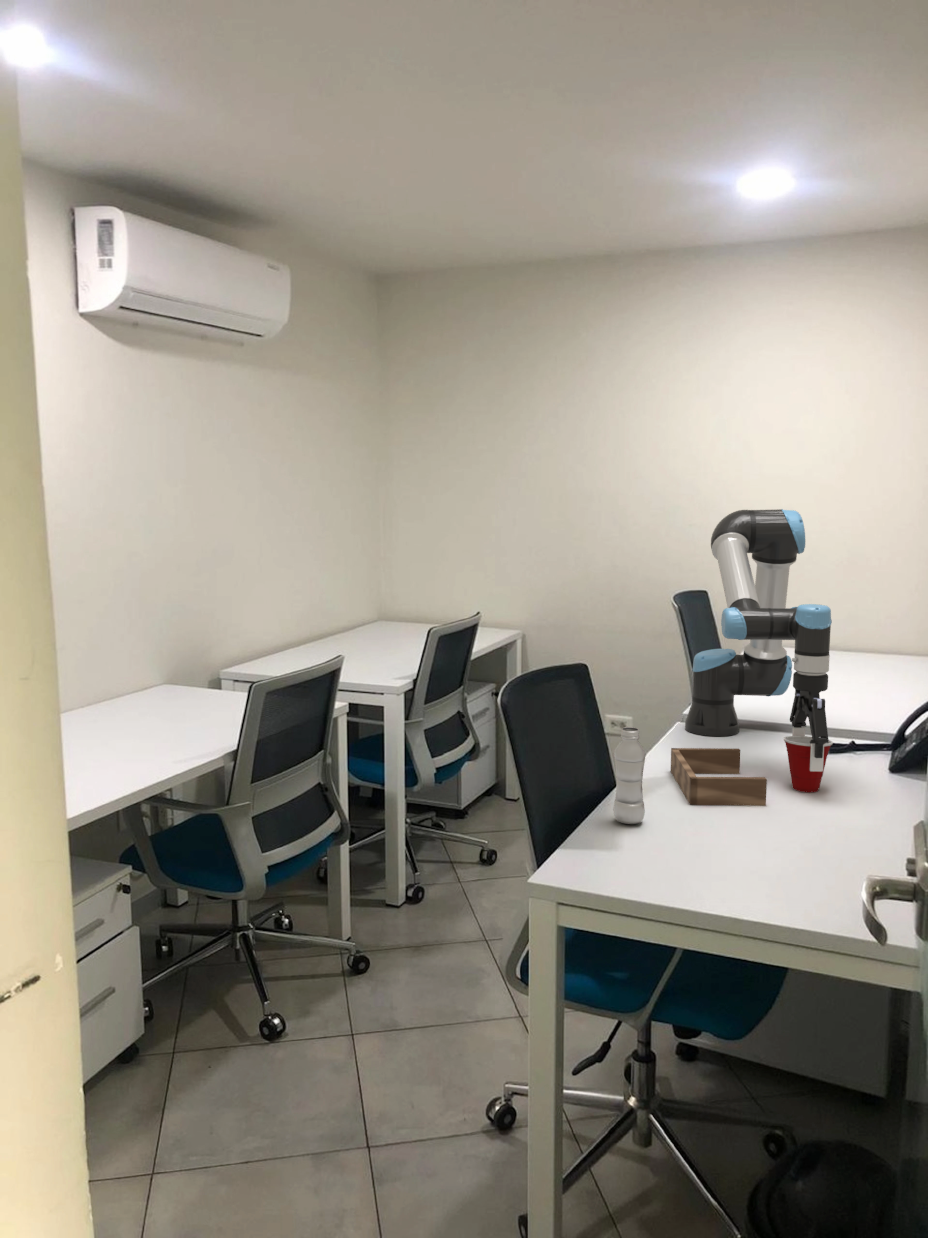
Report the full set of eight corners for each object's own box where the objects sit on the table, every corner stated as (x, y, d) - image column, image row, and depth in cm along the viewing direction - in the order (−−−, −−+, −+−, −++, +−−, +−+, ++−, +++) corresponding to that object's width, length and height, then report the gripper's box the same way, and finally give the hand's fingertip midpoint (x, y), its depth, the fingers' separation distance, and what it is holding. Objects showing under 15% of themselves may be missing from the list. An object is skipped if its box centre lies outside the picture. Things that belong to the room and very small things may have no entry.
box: (670, 771, 235) (671, 748, 234) (738, 772, 234) (738, 748, 233) (690, 805, 210) (690, 778, 209) (765, 805, 209) (766, 779, 208)
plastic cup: (832, 785, 224) (834, 735, 222) (828, 798, 214) (831, 746, 212) (783, 779, 228) (785, 730, 226) (778, 792, 218) (780, 741, 217)
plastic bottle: (626, 830, 195) (627, 734, 192) (606, 820, 201) (608, 727, 198) (651, 824, 198) (653, 731, 195) (631, 815, 204) (632, 724, 201)
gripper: (778, 662, 230) (775, 747, 233) (811, 683, 205) (807, 778, 208) (810, 662, 229) (806, 748, 232) (847, 683, 205) (842, 778, 208)
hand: (806, 762), depth 220 cm, fingers open, 13 cm apart
